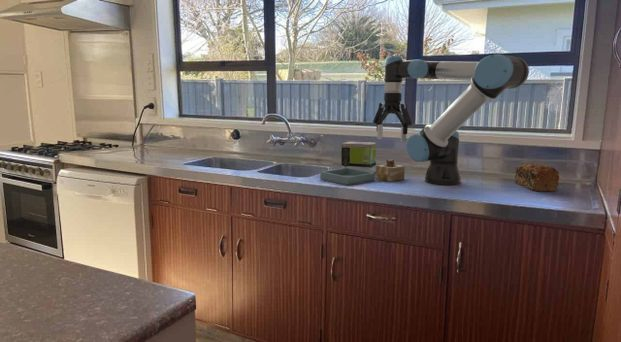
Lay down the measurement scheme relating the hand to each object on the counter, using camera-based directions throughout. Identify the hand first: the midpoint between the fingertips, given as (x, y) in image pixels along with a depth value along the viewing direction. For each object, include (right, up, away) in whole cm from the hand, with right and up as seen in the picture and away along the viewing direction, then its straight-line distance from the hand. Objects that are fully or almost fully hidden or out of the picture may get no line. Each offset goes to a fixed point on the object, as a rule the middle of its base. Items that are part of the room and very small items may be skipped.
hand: (391, 140), depth 203 cm
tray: (-20, -18, -1) cm, 27 cm away
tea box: (-13, -15, +20) cm, 28 cm away
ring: (-1, -18, +2) cm, 18 cm away
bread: (+58, -21, -13) cm, 63 cm away
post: (0, -17, +3) cm, 18 cm away
